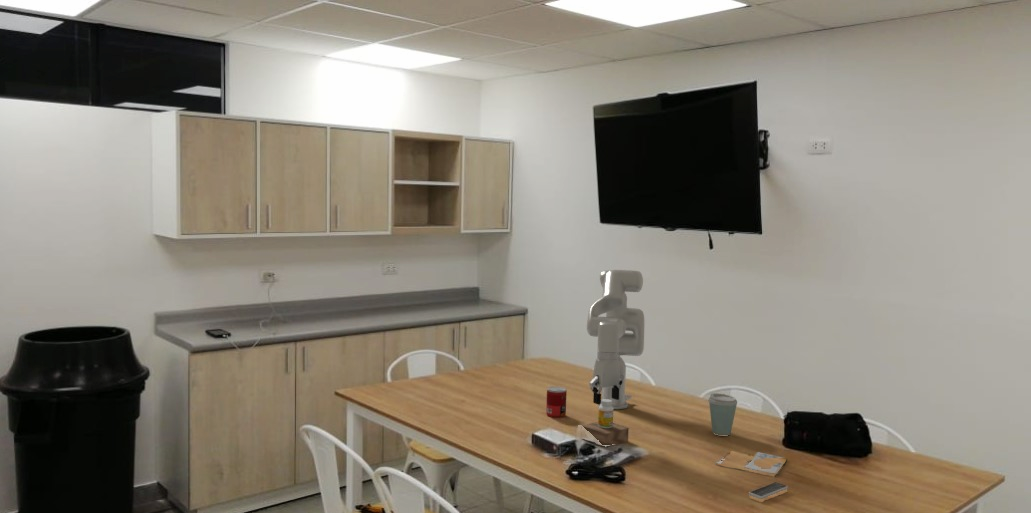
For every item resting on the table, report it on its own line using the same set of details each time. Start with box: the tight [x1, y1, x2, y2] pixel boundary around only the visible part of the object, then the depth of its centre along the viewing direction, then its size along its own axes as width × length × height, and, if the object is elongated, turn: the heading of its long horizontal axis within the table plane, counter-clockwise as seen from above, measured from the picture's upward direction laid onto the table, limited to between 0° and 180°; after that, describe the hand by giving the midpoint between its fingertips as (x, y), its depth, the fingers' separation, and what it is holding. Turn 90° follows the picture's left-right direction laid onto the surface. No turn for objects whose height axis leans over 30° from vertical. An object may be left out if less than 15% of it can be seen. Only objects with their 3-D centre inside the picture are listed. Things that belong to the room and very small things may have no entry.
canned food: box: [545, 386, 568, 419], centre depth 316 cm, size 8×8×11 cm
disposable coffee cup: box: [708, 392, 738, 435], centre depth 296 cm, size 11×11×15 cm
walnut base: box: [582, 421, 630, 445], centre depth 286 cm, size 12×12×5 cm
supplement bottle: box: [597, 398, 614, 428], centre depth 285 cm, size 5×5×10 cm
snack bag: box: [716, 451, 784, 474], centre depth 265 cm, size 19×20×2 cm
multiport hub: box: [748, 481, 789, 499], centre depth 237 cm, size 4×14×2 cm, turn 130°
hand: (606, 401), depth 285 cm, fingers open, 9 cm apart
